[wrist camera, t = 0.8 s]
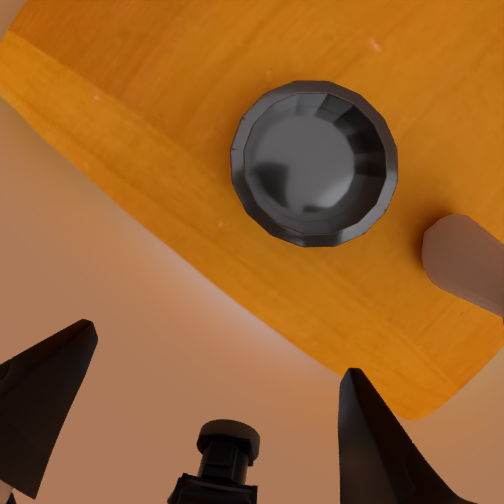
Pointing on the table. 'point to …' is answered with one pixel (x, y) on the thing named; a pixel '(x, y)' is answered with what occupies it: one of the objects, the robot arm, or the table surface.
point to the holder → (314, 163)
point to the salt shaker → (465, 261)
